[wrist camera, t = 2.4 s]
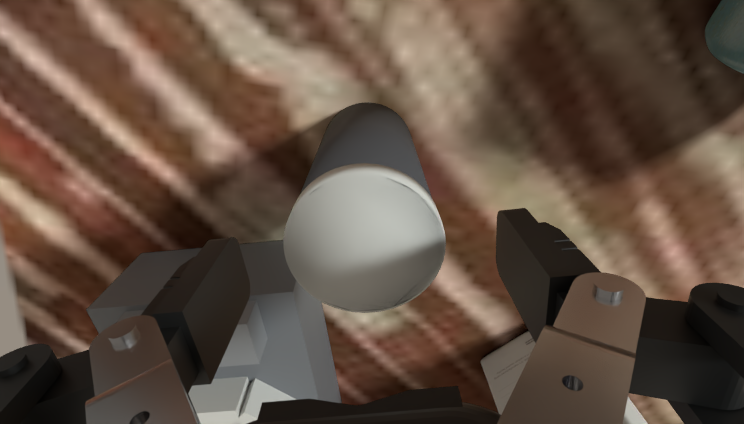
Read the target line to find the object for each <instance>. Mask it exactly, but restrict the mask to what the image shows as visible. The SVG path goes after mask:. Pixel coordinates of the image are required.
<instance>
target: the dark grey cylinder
mask: <svg viewBox="0 0 744 424" xmlns="http://www.w3.org/2000/svg"><path fill="white" fill-rule="evenodd" d="M283 239H284V253H285V258H286V261H287V264H288V267H289V269H290V271H291V273H292V275H293V276H294V278H295V279H296V281H297V282H298V283H299V284H300V285H301V286H302V288H304V289H305V290H306V291H307V292H308V293H309V294H310V295H312V296H313V297H315V298H316V299H318V300H319V301H321V302H323V303H325V304H327V305H330V306H332V307H334V308H338V309H341V310H345V311H351V312H361V313H368V312H379V311H385V310H389V309H393V308H395V307H398V306H401V305H403V304H405V303H407V302H409V301H411V300H412V299H414V298H415V297H417V296H418V295H419V294H421V293H422V292H423V291H424V290H425V289H426V288H427V287H428V286H429V285H430V284H431V283H432V281H433V280H434V279H435V277H436V276H437V274H438V272H439V270H440V268H441V265H442V262H443V259H444V255H445V246H446V240H445V232H444V228H443V224H442V221H441V218H440V216H439V213H438V210H437V208H436V205H435V203H434V201H433V200H432V197H431V194H430V191H429V188H428V185H427V182H426V179H425V176H424V173H423V170H422V167H421V164H420V162H419V159H418V156H417V153H416V150H415V147H414V144H413V141H412V138H411V135H410V132H409V130H408V127H407V125H406V124H405V122H404V121H403V119H402V118H401V117H400V116H399V115H398V114H397V113H396V112H394V111H393V110H391V109H390V108H388V107H386V106H383V105H380V104H376V103H359V104H355V105H351V106H349V107H347V108H345V109H343V110H342V111H340V112H339V113H338V114H337V115H336V116H335V117H334V118H333V119H332V121H331V122H330V124H329V125H328V127H327V129H326V132H325V134H324V137H323V139H322V142H321V144H320V147H319V149H318V151H317V154H316V156H315V159H314V161H313V164H312V166H311V169H310V171H309V174H308V176H307V179H306V181H305V183H304V186H303V188H302V191H301V193H300V196H299V197H298V199H297V200H296V202H295V204H294V206H293V209H292V211H291V213H290V216H289V218H288V221H287V224H286V227H285V232H284V238H283Z"/></svg>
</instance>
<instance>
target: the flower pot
mask: <svg viewBox="0 0 744 424" xmlns="http://www.w3.org/2000/svg"><path fill="white" fill-rule="evenodd" d="M705 39H706V44H707V46H708V49H709V51H710V52H711V53H712V54H713V56H714V57H716V58H717V59H718V60H719V61H721V62H722V63H724V64H725V65H727V66H729V67H730V68H732V69H734V70H736V71H738V72H741V73H743V74H744V0H722V1H721V2H720V4H719V5H718V7H717V8H716V10H715V12H714V13H713V15H712V16H711V18H710V20H709V21H708V23H707V25H706V28H705Z"/></svg>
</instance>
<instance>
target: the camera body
mask: <svg viewBox="0 0 744 424" xmlns="http://www.w3.org/2000/svg"><path fill="white" fill-rule="evenodd" d="M239 246H240V249H241V253H242V256H243V260H244V263H245V266H246V270H247V273H248V277H249V280H250V297H249V300H248V302H247V305H246V307H245V309H244V311H243V314H242V316H241V318H240V320H239V322H238V325H237V327H236V329H235V331H234V334H233V336H232V338H231V340H230V343H229V345H228V347H227V349H226V352H225V354H224V356H223V358H222V361H221V363H220V365H219V367H218V370H217V372H216V374H215V376H214V379H213V381H212V383H211V384H206V385H195V386H192V387H191V389H190V391H189V393H188V394H189V397H190V399H191V401H192V404H193V406H194V408H195V411H196V413H197V416H198V418H199V421H200V423H201V424H247V423H250V422H252V421H255V420H257V419H258V415H259V412H260V408H261V405H262V402H274V401H286V400H298V399H316V400H323V401H329V402H336V403H342V402H341V397H340V392H339V387H338V382H337V377H336V372H335V367H334V362H333V357H332V352H331V347H330V342H329V337H328V333H327V328H326V323H325V318H324V313H323V308H322V303H321V301H319V300H318V299H316V298H315V297H313V296H312V295H310V294H309V293H308V292H307V291H306V290H305V289H304V288H302V286H301V285H300V284H299V283H298V282H297V281H296V279H295V278H294V276H293V275H292V273H291V271H290V269H289V267H288V264H287V261H286V258H285V253H284V240H281V241H270V242H259V243H248V244H239ZM201 249H202V248H194V249H183V250H172V251H161V252H151V253H141V254H140V255H139V256H138V257H137V258H136V259H135V260H134V261H133V262H132V263H131V264H130V265H129V266H128V267H127V268H126V269H125V270H124V271H123V272H122V273H121V274H120V276H119V277H118V278H117V279H116V280H115V281H114V282H113V283H112V284H111V285H110V286H109V287H108V288H107V289H106V290H105V291H104V292H103V293H102V294H101V295H100V296H99V297H98V298H97V299H96V300H95V301H94V302H93V303H92V304H91V305H90V306H89V307H88V308H87V309H86V311H87V312H88V314H89V316H90V318H91V320H92V322H93V324H94V325H95V327H96V329H97V331H98V333H99V334H100V333H101V332H102V331H103V330H105V329H106V328H108V327H109V326H111V325H113V324H115V323H117V322H119V321H121V320H124V319H126V318H130V317H134V316H140V315H141V314H142V312H143V311H144V310H145V309H146V307H147V306H148V305H149V304H150V302H151V301H152V300H153V299H154V297H155V296H156V295H157V294H158V293H159V291H160V290H161V289H163V286H164V285H165V284H166V283H167V281H168V280H170V278H171V276H172V275H173V274H174V273H175V271H176V270H177V269H178V268H179V267H180V266H181V265H182V264H184V263H185V262H187V261H188V260H189V259H191V258H192V257H196V256H197V254H198V253H199V252H200V250H201Z"/></svg>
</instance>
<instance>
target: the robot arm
mask: <svg viewBox="0 0 744 424" xmlns="http://www.w3.org/2000/svg"><path fill="white" fill-rule="evenodd" d="M496 263H497V269H498V272H499V275H500V277H501V279H502V281H503V283H504V285H505V287H506V289H507V291H508V292H509V294H510V296H511V298H512V300H513V302H514V304H515V306H516V308H517V309H518V311H519V313H520V315H521V317H522V319H523V321H524V323H525V325H526V326H527V328H528V330H529V332H530V334H531V336H532V338H533V340H534V342H535V343H536V344H535V346H534V348H533V350H532V352H531V354H530V356H529V359H528V361H527V363H526V365H525V367H524V369H523V371H522V373H521V375H520V377H519V379H518V381H517V383H516V385H515V388H514V390H513V392H512V394H511V396H510V398H509V400H508V402H507V404H506V406H505V408H504V410H503V412H502V414H499V413H497V412H495V411H492V410H490V409H487V408H484V407H481V406H477V405H474V404H469V403H463V402H462V401H461V397H460V392H459V388H458V386H452V387H440V388H428V389H416V390H408V391H405V392H402V393H398V394H395V395H392V396H389V397H386V398H383V399H379V400H376V401H373V402H370V403H367V404H363V405H349V404H342V403H336V402H329V401H323V400H316V399H298V400H286V401H274V402H262V405H261V408H260V412H259V415H258V419H257V420H255V421H252V422H250V423H247V424H623V420H624V414H625V409H626V404H627V399H628V394H629V393H632V394H638V395H643V396H649V397H655V398H660V399H666V400H668V402H669V403H670V404H671V406H672V407H673V409H674V410H675V411H676V413H677V414H678V415H679V417H680V418H681V420H682V421H683V422H684V424H744V288H742V287H739V286H734V285H730V284H723V283H704V284H700V285H697V286H695V287H694V288H693V289H692V290H691V292H690V296H689V299H688V302H682V301H672V300H663V299H654V298H647V297H646V296H645V293H644V291H643V290H642V289H641V288H640V287H639V286H638V285H636V284H635V283H634V282H632V281H630V280H628V279H626V278H623V277H621V276H617V275H614V274H609V273H601V272H600V271H599V270H598V269H597V268H596V267H595V265H594V264H593V263H592V262H591V261H590V260H589V259H588V258H587V257H586V256H585V255H584V254H583V253H582V252H581V251H580V250H579V249H577V247H576V246H575V244H574V243H573V242H572V241H570V239H569V238H568V237H567V236H566V235H565V234H564V233H563V232H562V231H561V230H560V229H558V228H556V227H554V226H552V225H550V224H548V223H546V222H542V223H538V222H537V221H536V219H535V218H534V217H533V216H532V215H531V214H530V213H529V211H528V210H527V209H525V208H521V209H511V210H501V211H499V212H498V215H497V235H496ZM249 297H250V280H249V277H248V273H247V270H246V266H245V263H244V260H243V256H242V253H241V249H240V246H239V243H238V241H237V239H236V238H234V237H231V238H222V239H212V240H208V241H207V242H206V244H205V245H204V246H203V248H202V249H201V250H200V252H199V253H198V254H197V256H196V257H192V258H191V259H189V260H188V261H187V262H185V263H184V264H182V265H181V266H180V267H179V268H178V269H177V270H176V271H175V273H174V274H173V275H172V276H171V278H170V280H168V281H167V283H166V284H165V285H164V286H163V289H161V290H160V291H159V293H158V294H157V295H156V296H155V297H154V299H153V300H152V301H151V302H150V304H149V305H148V306H147V307H146V309H145V310H144V311H143V312H142V314H141V315H140V316H134V317H130V318H126V319H124V320H121V321H119V322H117V323H115V324H113V325H111V326H109V327H108V328H106V329H105V330H103V331H102V332H101V333H100V334H99V335H98V336H97V337H96V338H95V339H94V340H93V341H92V343H91V345H90V348H89V350H86V351H83V352H80V353H76V354H73V355H70V356H66V357H63V358H60V359H57V358H56V356H55V354H54V353H53V351H52V349H51V348H50V346H48V345H46V344H34V345H29V346H25V347H22V348H19V349H16V350H14V351H12V352H10V353H8V354H5V355H4V356H2V357H0V424H201V423H200V421H199V418H198V416H197V413H196V411H195V408H194V406H193V404H192V401H191V399H190V397H189V394H188V393H189V391H190V389H191V387H192V386H195V385H206V384H211V383H212V381H213V379H214V376H215V374H216V372H217V370H218V367H219V365H220V363H221V361H222V358H223V356H224V354H225V352H226V349H227V347H228V345H229V343H230V340H231V338H232V336H233V334H234V331H235V329H236V327H237V325H238V322H239V320H240V318H241V316H242V314H243V311H244V309H245V307H246V305H247V302H248V300H249Z"/></svg>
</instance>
